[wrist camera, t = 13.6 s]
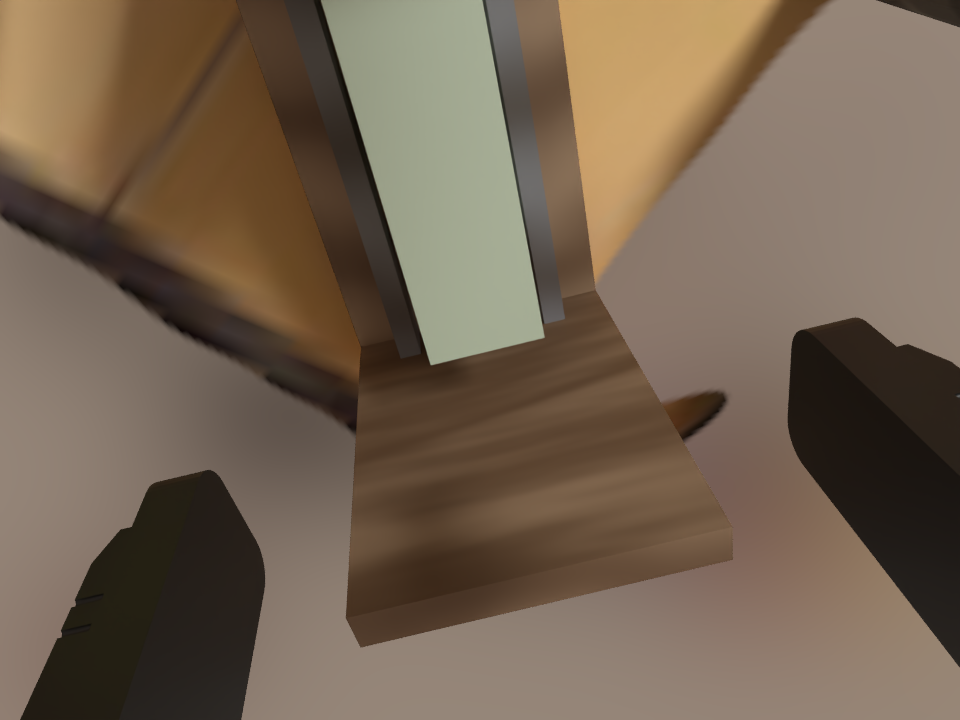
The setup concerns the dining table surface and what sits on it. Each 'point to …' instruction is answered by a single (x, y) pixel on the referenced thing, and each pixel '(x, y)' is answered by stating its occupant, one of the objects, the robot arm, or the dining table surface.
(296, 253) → the dining table surface
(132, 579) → the robot arm
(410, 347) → the wooden u-shaped holder
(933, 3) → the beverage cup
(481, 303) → the pale green rectangular block
